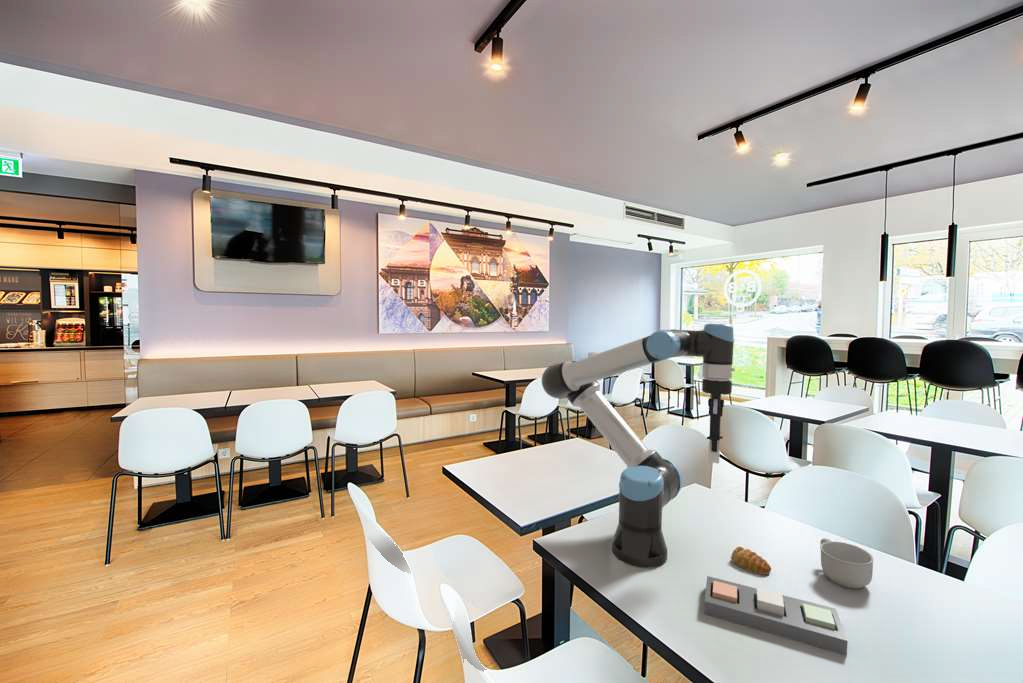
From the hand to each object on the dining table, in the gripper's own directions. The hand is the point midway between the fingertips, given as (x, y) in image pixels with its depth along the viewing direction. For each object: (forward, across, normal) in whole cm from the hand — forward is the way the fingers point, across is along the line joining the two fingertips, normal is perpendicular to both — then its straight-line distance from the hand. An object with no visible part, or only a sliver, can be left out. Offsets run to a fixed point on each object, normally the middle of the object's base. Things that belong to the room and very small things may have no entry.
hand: (713, 461), depth 123 cm
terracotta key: (+25, -24, -4) cm, 35 cm away
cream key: (+24, -24, -13) cm, 36 cm away
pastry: (+27, -1, -10) cm, 29 cm away
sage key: (+25, -24, -22) cm, 41 cm away
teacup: (+27, +3, -31) cm, 41 cm away
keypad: (+26, -24, -13) cm, 38 cm away
